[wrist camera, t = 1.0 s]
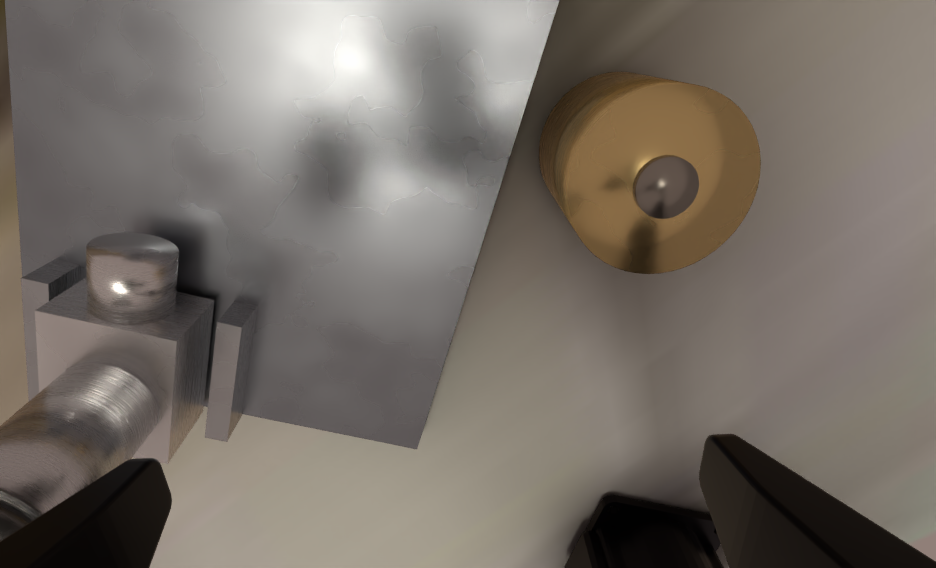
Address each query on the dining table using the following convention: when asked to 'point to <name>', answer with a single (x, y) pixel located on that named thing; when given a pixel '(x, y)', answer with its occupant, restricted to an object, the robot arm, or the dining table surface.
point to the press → (278, 180)
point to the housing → (649, 169)
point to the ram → (106, 376)
